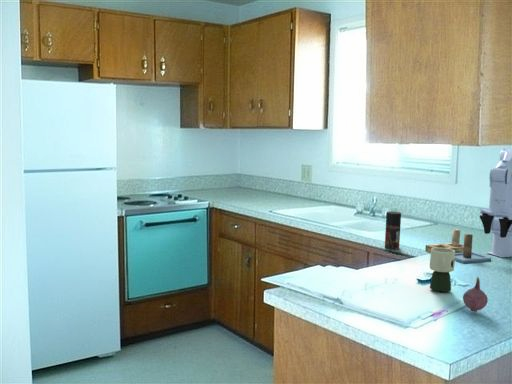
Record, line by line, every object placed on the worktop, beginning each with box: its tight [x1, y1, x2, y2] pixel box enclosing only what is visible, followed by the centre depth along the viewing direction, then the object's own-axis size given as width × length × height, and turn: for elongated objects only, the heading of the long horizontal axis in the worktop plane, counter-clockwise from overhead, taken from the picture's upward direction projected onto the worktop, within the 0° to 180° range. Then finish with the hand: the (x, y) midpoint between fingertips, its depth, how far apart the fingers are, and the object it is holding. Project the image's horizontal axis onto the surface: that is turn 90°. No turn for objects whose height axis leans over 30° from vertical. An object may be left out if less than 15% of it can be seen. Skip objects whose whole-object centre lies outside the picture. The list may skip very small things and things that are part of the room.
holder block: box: [424, 242, 464, 254], centre depth 220 cm, size 16×8×2 cm, turn 113°
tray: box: [455, 251, 492, 264], centre depth 209 cm, size 14×10×1 cm
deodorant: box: [384, 211, 402, 250], centre depth 224 cm, size 6×6×15 cm
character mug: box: [429, 247, 456, 293], centre depth 165 cm, size 11×7×13 cm, turn 167°
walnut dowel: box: [463, 233, 474, 258], centre depth 208 cm, size 3×3×9 cm
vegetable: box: [462, 276, 488, 313], centre depth 146 cm, size 6×6×10 cm
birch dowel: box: [451, 228, 461, 247], centre depth 221 cm, size 3×3×9 cm
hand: (495, 235), depth 203 cm, fingers open, 7 cm apart
